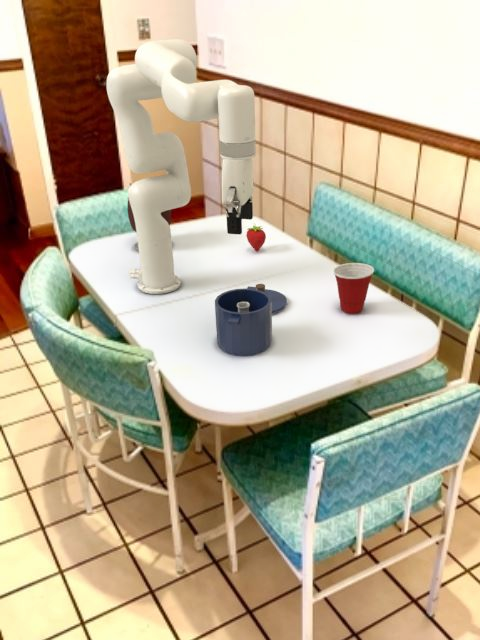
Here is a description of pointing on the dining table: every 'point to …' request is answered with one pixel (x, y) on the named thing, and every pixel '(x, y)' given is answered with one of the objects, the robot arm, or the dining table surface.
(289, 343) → the dining table surface
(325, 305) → the dining table surface
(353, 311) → the plastic cup
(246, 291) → the pot
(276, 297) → the pot lid
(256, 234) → the strawberry
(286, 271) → the dining table surface
